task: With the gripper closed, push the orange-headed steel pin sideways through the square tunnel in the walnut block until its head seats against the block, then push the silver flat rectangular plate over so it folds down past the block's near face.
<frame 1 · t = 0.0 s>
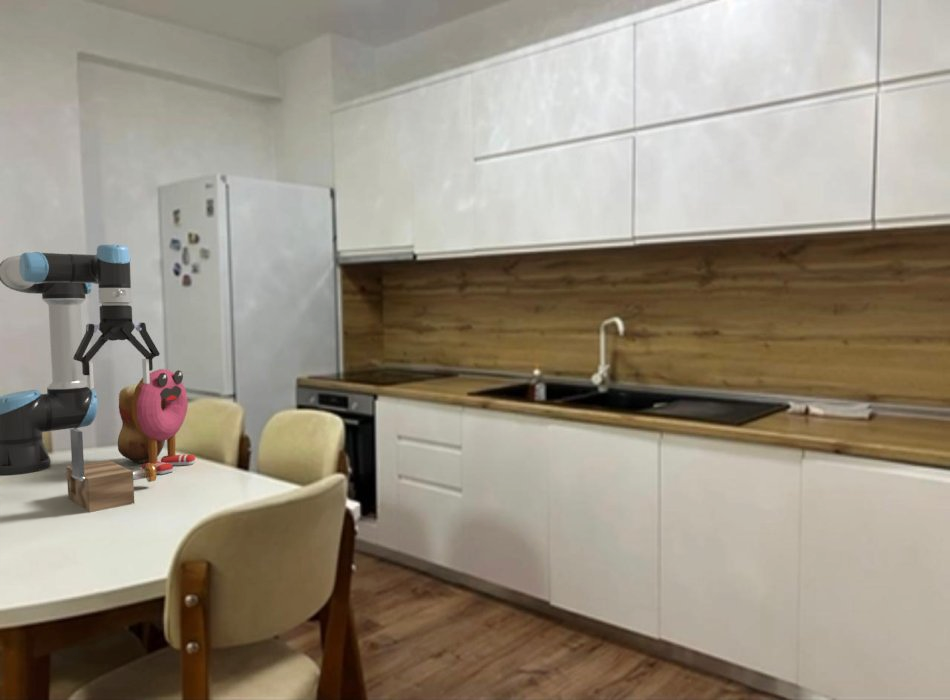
hand: (119, 385, 179), 28 cm above the table, fingers open, 13 cm apart
block: (100, 500, 171), on the table
pin: (122, 477, 178), point 4 cm above the table, slide at 0.0 cm
toy: (167, 468, 205), on the table
silver flat rectangular plate: (77, 454, 163), point 13 cm above the table, hinge at 0.0°
butternut squash: (143, 462, 214), on the table
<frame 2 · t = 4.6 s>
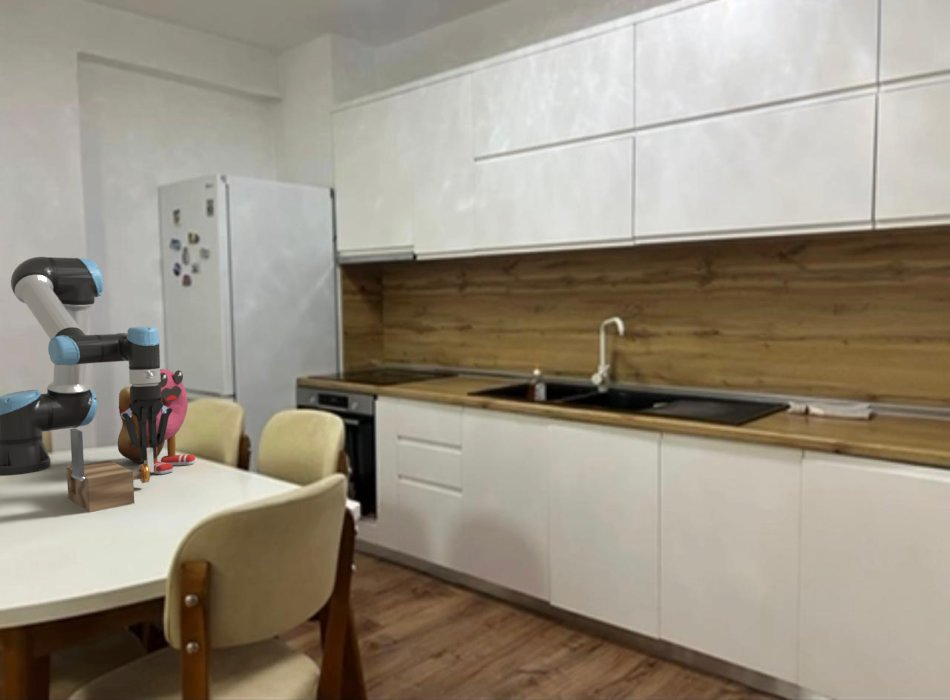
hand: (149, 471, 183), 4 cm above the table, fingers closed
pin: (116, 478, 177), point 4 cm above the table, slide at 1.7 cm, touching gripper
everything else where it was.
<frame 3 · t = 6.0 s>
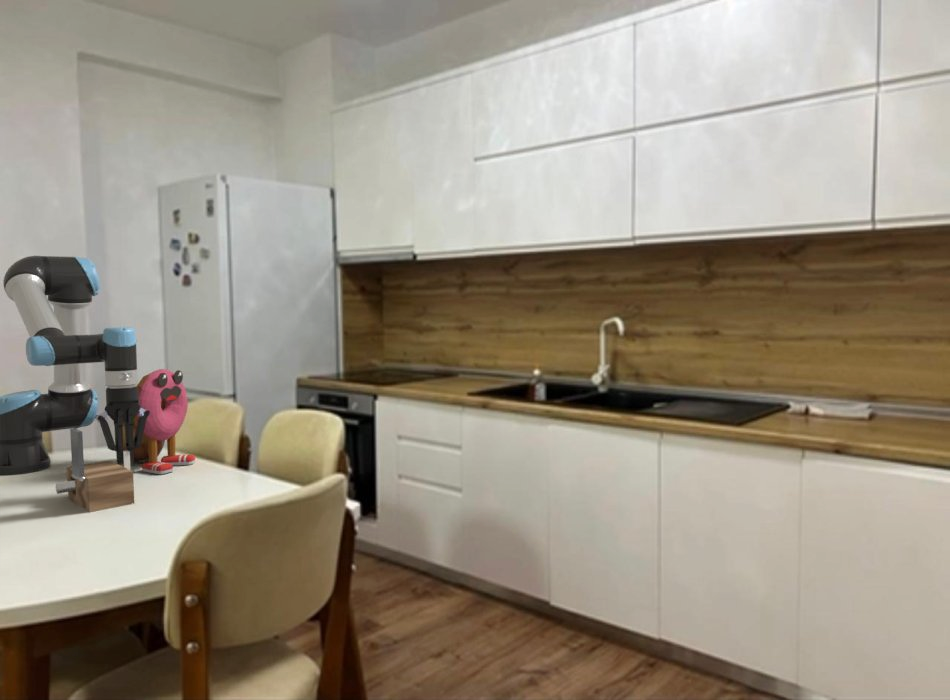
hand: (125, 475, 179), 4 cm above the table, fingers closed
pin: (91, 482, 173), point 4 cm above the table, slide at 7.5 cm, touching gripper
everything else where it was.
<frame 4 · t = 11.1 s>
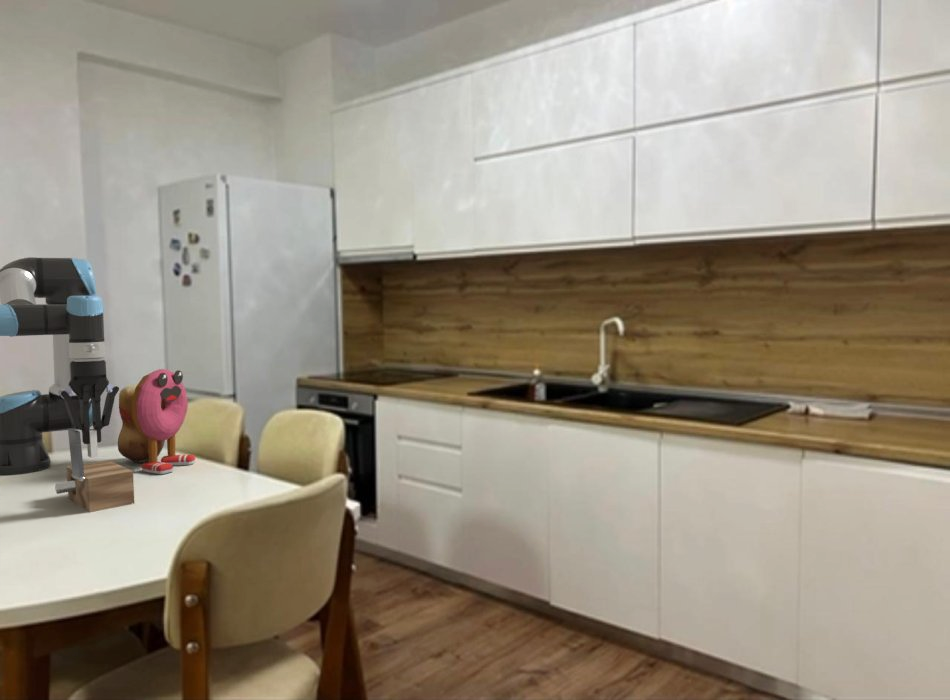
hand: (92, 456, 165), 12 cm above the table, fingers closed
pin: (90, 482, 173), point 4 cm above the table, slide at 7.6 cm
silver flat rectangular plate: (76, 455, 162), point 13 cm above the table, hinge at 2.5°, touching gripper
everything else where it was.
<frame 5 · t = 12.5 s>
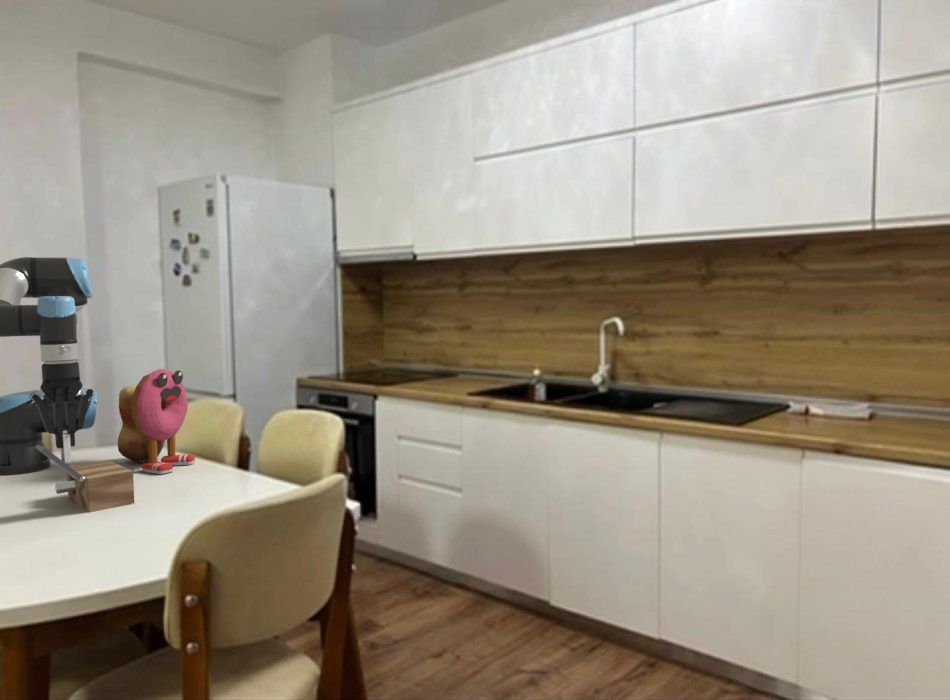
hand: (66, 460, 161), 12 cm above the table, fingers closed
silver flat rectangular plate: (60, 463, 160), point 12 cm above the table, hinge at 42.6°, touching gripper
everything else where it was.
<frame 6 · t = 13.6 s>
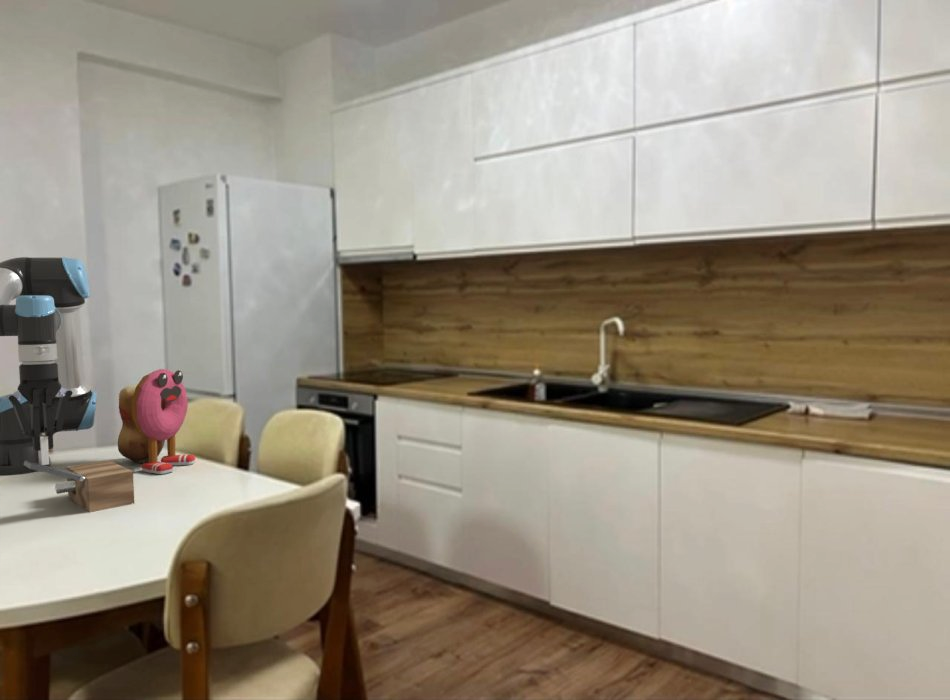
hand: (44, 463, 158), 12 cm above the table, fingers closed
silver flat rectangular plate: (54, 471, 159), point 10 cm above the table, hinge at 64.8°, touching gripper
everything else where it was.
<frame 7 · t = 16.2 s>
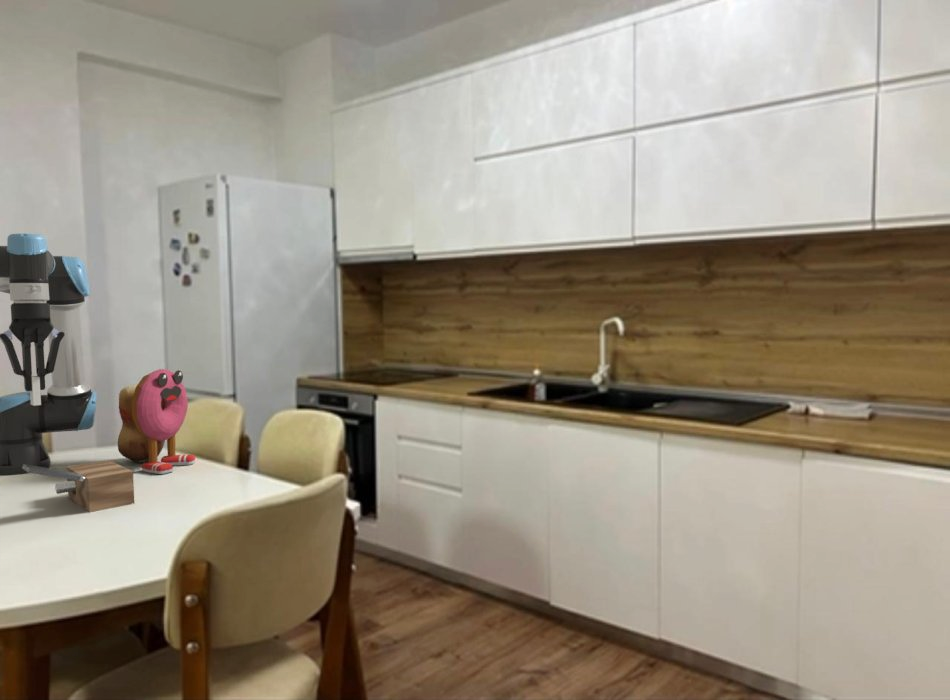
hand: (35, 404, 157), 26 cm above the table, fingers closed
silver flat rectangular plate: (54, 472, 159), point 10 cm above the table, hinge at 69.1°
everything else where it was.
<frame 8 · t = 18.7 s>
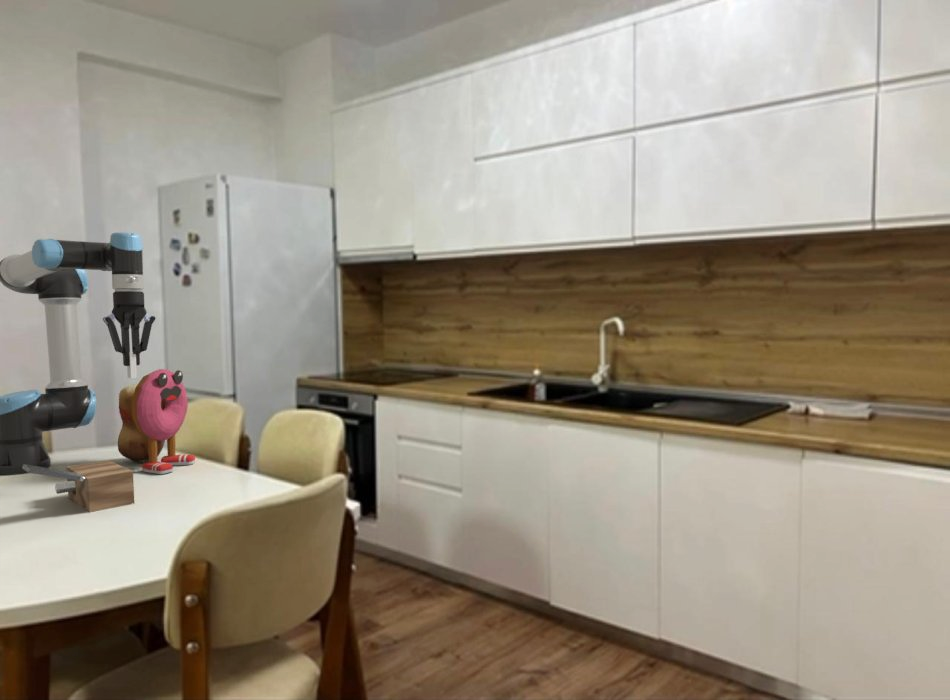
hand: (132, 377, 185), 29 cm above the table, fingers closed
nothing on the table moved.
at the end: pin slide at 7.6 cm; silver flat rectangular plate at +69° (first picture: +0°); silver flat rectangular plate touching nothing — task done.
